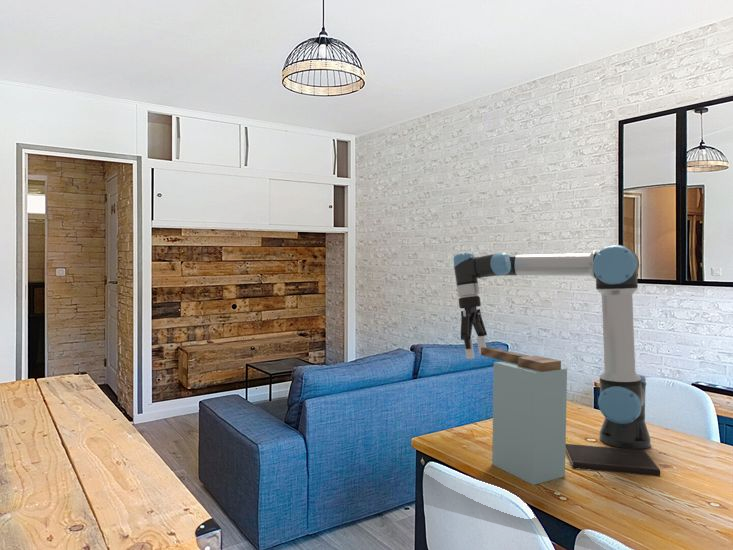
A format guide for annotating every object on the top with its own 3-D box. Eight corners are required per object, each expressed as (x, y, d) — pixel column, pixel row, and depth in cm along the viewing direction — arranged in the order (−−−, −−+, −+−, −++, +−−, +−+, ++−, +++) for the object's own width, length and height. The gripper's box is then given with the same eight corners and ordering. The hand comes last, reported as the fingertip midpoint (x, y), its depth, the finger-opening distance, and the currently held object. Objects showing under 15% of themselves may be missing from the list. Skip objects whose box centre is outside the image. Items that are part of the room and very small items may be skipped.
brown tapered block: (475, 355, 165) (475, 348, 165) (492, 353, 168) (492, 346, 168) (542, 371, 141) (542, 362, 141) (560, 369, 145) (561, 360, 145)
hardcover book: (564, 450, 168) (564, 443, 168) (643, 457, 164) (643, 450, 163) (572, 470, 153) (573, 462, 153) (660, 478, 148) (660, 470, 148)
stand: (492, 464, 155) (493, 362, 154) (522, 457, 161) (524, 359, 160) (533, 484, 141) (535, 372, 140) (564, 476, 147) (567, 368, 146)
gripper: (470, 297, 202) (478, 353, 200) (445, 298, 180) (454, 361, 178) (489, 294, 198) (497, 351, 196) (466, 295, 176) (475, 359, 174)
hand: (476, 356), depth 187 cm, fingers open, 13 cm apart
